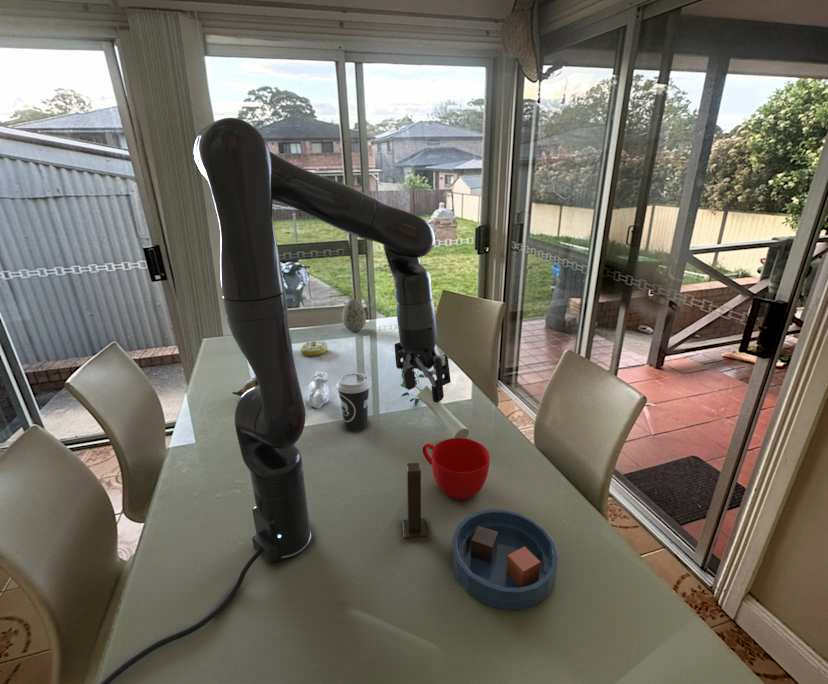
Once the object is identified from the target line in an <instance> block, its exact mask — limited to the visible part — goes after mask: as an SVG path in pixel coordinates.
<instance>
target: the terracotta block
mask: <svg viewBox="0 0 828 684" xmlns="http://www.w3.org/2000/svg"><path fill="white" fill-rule="evenodd" d="M539 570H540V561H539V560H538V559H537V558H536V557H535V556H534V555H533V554H532V553H531V552H530V551H529V550H528V549H527V548H526V547H525V546H524V547H522V548H521V549H519V550H517V551H515V552H513V553H511V554H509V555H508V560H507V571H506V572H507V573H508V574H509V575H510V576H511V577H512V578H513V580H514V581H515V582H516V583H517V584H518V585H519V586H520V587H525V586H527V585H528V584H530V583H532V582H534V581H535V580H537V579H538V578H539Z"/></svg>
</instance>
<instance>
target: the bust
mask: <svg viewBox="0 0 828 684" xmlns="http://www.w3.org/2000/svg"><path fill="white" fill-rule="evenodd" d="M312 380H313V381H311V382H310V383H309V385H308V388H307V392H308V395H307V403H308V404H309V405H310V406H311V407H312V408H315V409H321V407H322V406H324V405H326V404H327V403H328V402H329V400H330V399H329V398H330V388H329V387H328V386H327V385H326V383H327V382H328V381H329V380H330V376H329V374H328V373H327V372H326V371H316V372H315V374H314V375H313V376H312Z"/></svg>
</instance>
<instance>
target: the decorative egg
mask: <svg viewBox="0 0 828 684" xmlns="http://www.w3.org/2000/svg"><path fill="white" fill-rule="evenodd" d="M341 320H342V323H343V325H344V327H345V328H346V329H347V330H348V331H350V332H355V333H356V332H358V331H361V330H362V329H363V328H364V327H365V325H366V323H367V314H366V310H365V308H364V306H363V305H362V303H361V302H360V301H359V300H357V299H355V298H352V299H349V300H348V301H347V302H346V304H345V305H344V307H343V309H342V314H341Z"/></svg>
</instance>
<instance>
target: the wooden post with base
mask: <svg viewBox="0 0 828 684" xmlns="http://www.w3.org/2000/svg"><path fill="white" fill-rule="evenodd" d="M406 493H407V494H406V496H407V497H406V500H407V503H406V504H407V505H406V506H407V519H402V530H403V539H416V538H427V529H426V522H425V518H422V469H421V463H420V462H411V463H408V462H407V463H406Z"/></svg>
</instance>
